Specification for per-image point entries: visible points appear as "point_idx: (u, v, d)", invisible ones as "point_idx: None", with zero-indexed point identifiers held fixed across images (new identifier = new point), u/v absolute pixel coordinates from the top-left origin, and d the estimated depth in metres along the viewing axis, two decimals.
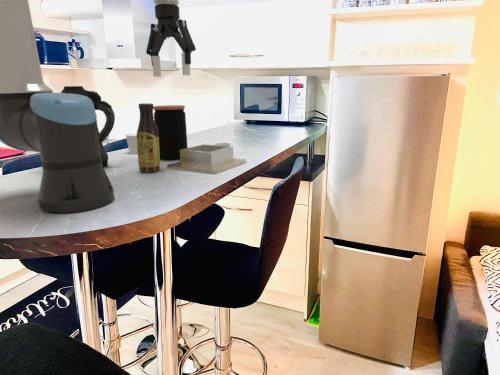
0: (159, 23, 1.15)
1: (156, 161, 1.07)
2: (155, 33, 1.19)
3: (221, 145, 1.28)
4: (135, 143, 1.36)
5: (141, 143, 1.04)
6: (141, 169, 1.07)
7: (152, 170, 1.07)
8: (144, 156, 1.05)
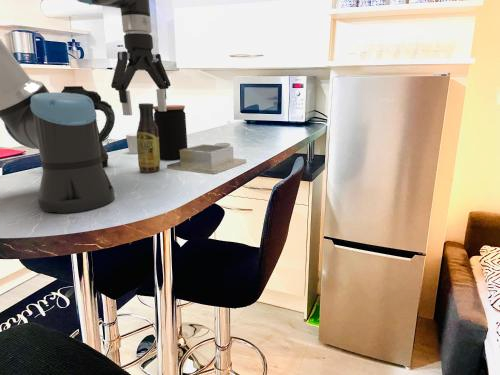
0: None
1: (156, 161, 1.07)
2: (156, 64, 1.06)
3: (221, 145, 1.28)
4: (135, 143, 1.36)
5: (141, 143, 1.04)
6: (141, 169, 1.07)
7: (152, 170, 1.07)
8: (144, 156, 1.05)
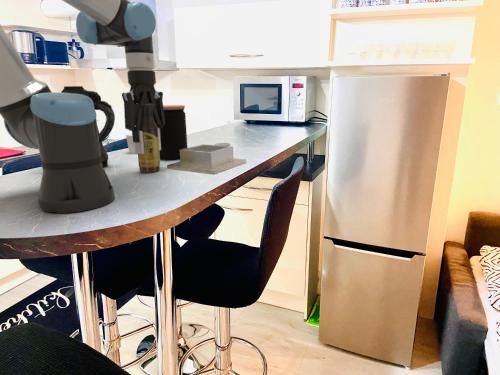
0: None
1: (156, 161, 1.07)
2: (156, 101, 1.08)
3: (221, 145, 1.28)
4: None
5: None
6: (141, 169, 1.07)
7: (152, 170, 1.07)
8: (144, 156, 1.05)
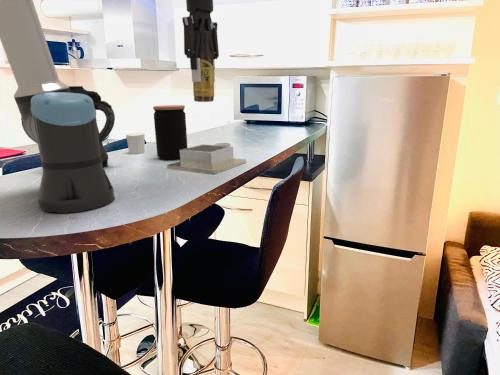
0: None
1: (211, 90, 1.08)
2: (211, 31, 1.09)
3: (221, 145, 1.28)
4: (135, 143, 1.36)
5: None
6: (197, 98, 1.08)
7: (207, 99, 1.08)
8: (200, 84, 1.06)
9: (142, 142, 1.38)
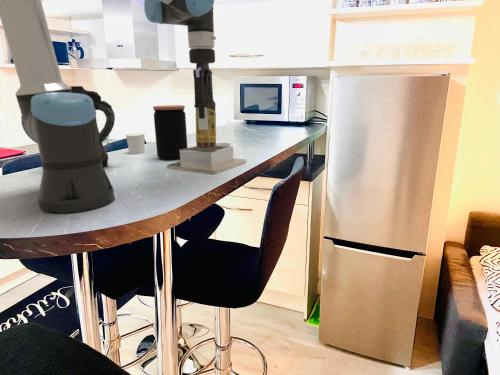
0: None
1: (215, 136, 1.12)
2: None
3: (221, 145, 1.28)
4: (135, 143, 1.36)
5: None
6: (202, 145, 1.11)
7: (213, 145, 1.12)
8: (207, 132, 1.10)
9: (142, 142, 1.38)
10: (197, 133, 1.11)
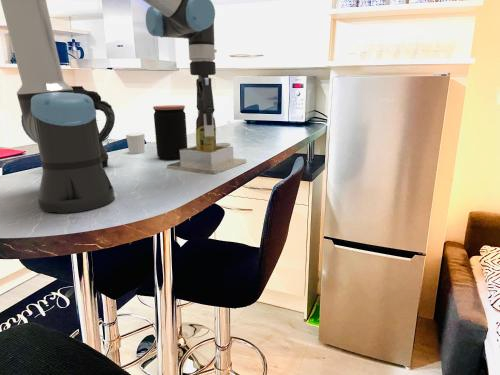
0: (198, 79, 1.11)
1: None
2: None
3: (221, 145, 1.28)
4: (135, 143, 1.36)
5: None
6: None
7: None
8: (211, 147, 1.12)
9: (142, 142, 1.38)
10: (200, 149, 1.12)
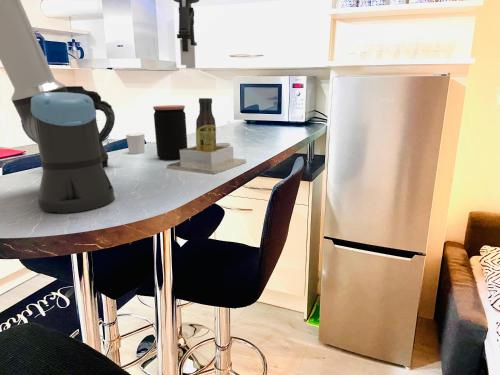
0: None
1: None
2: None
3: (221, 145, 1.28)
4: (135, 143, 1.36)
5: (209, 135, 1.10)
6: None
7: None
8: (211, 147, 1.12)
9: (142, 142, 1.38)
10: (200, 149, 1.12)
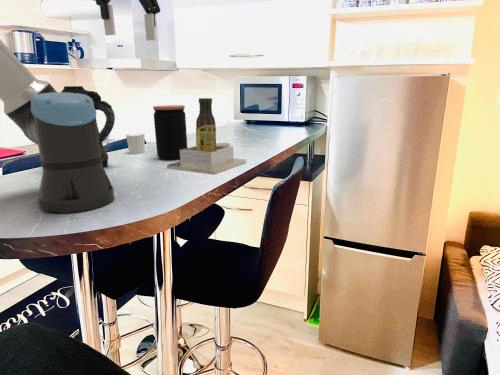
0: None
1: None
2: None
3: (221, 145, 1.28)
4: (135, 143, 1.36)
5: (208, 135, 1.10)
6: None
7: None
8: (211, 147, 1.12)
9: (142, 142, 1.38)
10: (200, 149, 1.12)
